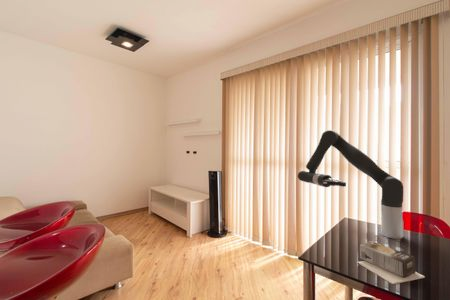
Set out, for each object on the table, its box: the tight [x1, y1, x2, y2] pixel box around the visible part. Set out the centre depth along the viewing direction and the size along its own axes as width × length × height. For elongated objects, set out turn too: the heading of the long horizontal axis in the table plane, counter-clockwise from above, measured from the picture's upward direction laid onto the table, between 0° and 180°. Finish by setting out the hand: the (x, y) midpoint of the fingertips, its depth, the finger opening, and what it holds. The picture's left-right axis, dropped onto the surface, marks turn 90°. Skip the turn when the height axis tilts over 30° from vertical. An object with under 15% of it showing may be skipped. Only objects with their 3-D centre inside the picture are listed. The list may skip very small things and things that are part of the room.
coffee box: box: [359, 240, 416, 278], centre depth 85 cm, size 9×6×16 cm
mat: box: [356, 260, 426, 285], centre depth 82 cm, size 16×14×1 cm
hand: (344, 184), depth 110 cm, fingers closed
